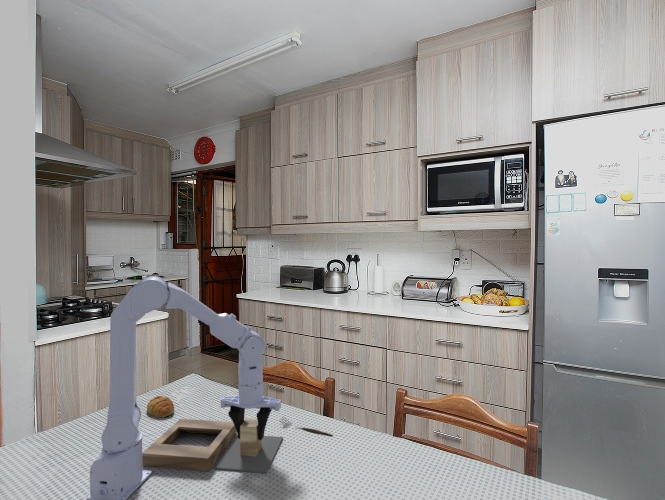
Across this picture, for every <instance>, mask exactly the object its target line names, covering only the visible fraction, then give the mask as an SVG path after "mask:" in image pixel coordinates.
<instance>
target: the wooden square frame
mask: <svg viewBox="0 0 665 500" xmlns="http://www.w3.org/2000/svg"><path fill="white" fill-rule="evenodd" d="M182 433H195V434H211V435H217V436H216V437H215V438H214V440H213V441H212V443H210V445H208V446H206V447H205V446H193V445H181V444H179V445H178V444H171V443H172V442H173V441H174V440H175V439H176V438H177V437H178V436H179V435H180V434H182ZM235 436H237V431H236V428H235V426H234V423H233V421H222V420H208V419H207V420H205V419H192V418H191V419H190V418H189V419H188V418H179V419H178V420H177V421H175V423H174V424H173V425H171V426H170V427H169V428H168V429H167V430H166V431H165V432H164V433H162V435H161V436H159V437H158V438H157V439H156V440H155V441H154V442H153V443H151V444H150V445H149V446H148V447H147V448H146V449H145V450H144V451H142V463H143V467H147V468H149V467H150V468H159V469H170V470H171V469H175V470H184V471H196V472H209V471H210V470H211V469H212V467H213V466H214V464H215V463H216V462H217V461H218V460H219V458H220V457H221V456H222V454H223V453H224V452H225V450H226V449H227V447H228V446H229V444H230V443H231V442H232V440H233V439H234V438H235Z"/></svg>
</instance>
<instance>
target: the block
mask: <svg viewBox="0 0 665 500" xmlns="http://www.w3.org/2000/svg"><path fill="white" fill-rule="evenodd" d="M261 448H262V440H258V420H257V418H253V417H252V418H250V417H246V418H244V422H243V423H242V424H241V426H240V455H244V456H257V455H258V453H259V451H260V450H261Z"/></svg>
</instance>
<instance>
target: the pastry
mask: <svg viewBox="0 0 665 500" xmlns="http://www.w3.org/2000/svg"><path fill="white" fill-rule="evenodd" d="M146 411H147V413H148V414H149V415H151V416H153V417H156V418H166V417H168V416H171V415H172V414H173V413H174V412H175V405H174V402H173V400H171V398H169V397H168V396H163V395H157V396H154V397H153V398H151V399H150V401H149V402H148V403H147V405H146Z"/></svg>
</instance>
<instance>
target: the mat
mask: <svg viewBox="0 0 665 500" xmlns="http://www.w3.org/2000/svg"><path fill="white" fill-rule="evenodd" d="M283 440H284V437H283V436H273V435H272V436H271V435H264V437H263V438H262V448H261V450H260V451H259V453H258V455H257V456H244V455H240V439H238V435H236V437H235V439H234V440H233V442H232V443H231V444H230V445H229V447H228V448H227V450H226V451H224V454H223V455H222V457H221V458H220V460H218V462H217V464H216V465H215V466H214V470H221V471H233V472H234V471H236V472H243V473H244V472H247V473H256V474H257V473H260V474H267V472H268V471H269V468H270V467H271V465H272V462H273V460H274V459H275V456H276V454H277V452H278V450H279V448H280V446H281V444H282V442H283Z"/></svg>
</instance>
